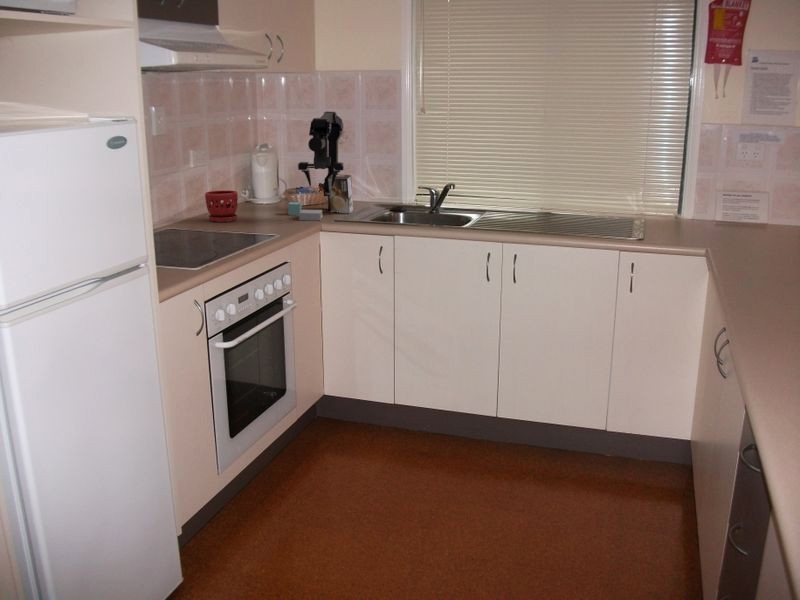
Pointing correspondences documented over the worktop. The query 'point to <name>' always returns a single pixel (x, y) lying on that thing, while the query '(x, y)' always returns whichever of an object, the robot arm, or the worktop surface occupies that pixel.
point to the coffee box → (341, 194)
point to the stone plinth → (310, 215)
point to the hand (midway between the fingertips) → (321, 186)
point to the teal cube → (294, 208)
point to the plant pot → (222, 205)
